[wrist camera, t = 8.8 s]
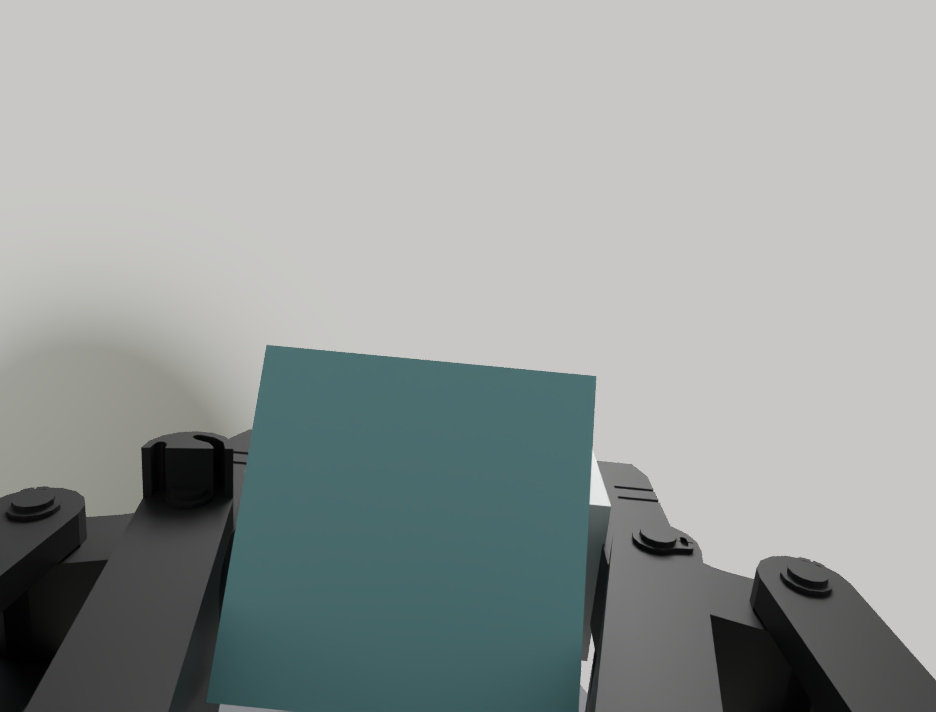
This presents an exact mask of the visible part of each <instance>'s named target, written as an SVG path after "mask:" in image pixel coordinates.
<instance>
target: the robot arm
mask: <svg viewBox="0 0 936 712" xmlns="http://www.w3.org/2000/svg"><path fill="white" fill-rule="evenodd" d="M251 434H252V430H247V431H245V432H243V433H241V434H238V435H236V436H234V437H232V438H230V439H227V438H226V437H224V436H221V435H217V434H214V433H206V432H179V433H173V434H169V435H163V436H161V437H158V438H155V439H153V440H150V441H149V442H148V443H146V444H145V445H144V446H143V447H142V448H141V450H142V477H143V499H142V501H141V503H140V504H139V506H138V508H137V510H136V512H135V513H132V514H124V515H114V516H113V515H112V516H98V517H86V514H85V501H84V497H83V496H81V495H80V494H79V493H77V492H76V491H72V490H68V489H64V488H49V487H37V488H36V489H34V488H28V489H23V490H21V491H20V492H17V493H13V494H9V495H6V496H4V497H2V498H0V712H218V711H219V707H220V704H215V703H206V700H207V694H208V688H209V683H210V677H211V671H212V665H213V659H214V653H215V647H216V641H217V635H218V629H219V623H220V618H221V612H222V606H223V600H224V594H225V588H226V582H227V576H228V570H229V564H230V558H231V553H232V547H233V541H234V535H235V529H236V523H237V517H238V511H239V505H240V499H241V494H242V488H243V482H244V476H245V470H246V464H247V458H248V452H249V446H250V440H251ZM591 633H592V637H593V642H594V647H595V652H594V658H593V664H592V670H591V677H590V683H589V690H588V696H587V702H586V708H585V712H936V680H935V679H934V678H933V677H932V676H931V675H930V674H929V672H928V671H927V670H926V669H925V668H924V666H923V665H922V664H921V663H920V662H919V661H918V660H917V659H916V657H914V655H913V654H912V653H911V652H910V651H909V650H908V648H907V647H906V646H905V645H904V644H903V643H902V642H901V641H900V639H899V638H898V637H897V636H896V635H895V634H894V633H893V632H892V630H891V629H890V628H889V627H888V626H887V625H886V623H885V622H884V621H883V620H882V619H881V618H880V617H879V616H878V614H877V613H876V612H875V611H874V610H873V609H872V608H871V606H870V605H869V604H868V603H867V602H866V601H865V600H864V599H863V597H862V596H861V595H860V594H859V593H858V592H857V591H856V589H855V588H854V587H853V586H852V585H851V584H850V583H849V582H848V581H846V580H845V579H844V578H843V577H841V576H840V575H839V574H837V573H836V572H834V571H832V570H830V569H828V568H826V567H825V566H824V565H822V564H820V563H817V562H815V561H813V562H811V561H810V560H809V559H805V558H801V557H800V558H794V557H788V556H776V557H775V556H773V557H769V558H766V559H764V560H761V561H760V563H759V565H758V567H757V569H756V574H755V579H751V578H747V577H743V576H739V575H736V574H732V573H728V572H725V571H722V570H719V569H716V568H713V567H711V566H709V565H707V564H704V563H703V560H702V552H701V550H700V548H699V546H698V544H697V542H696V541H695V540H693V539H692V538H691V537H690V536H688V535H687V534H686V533H683V532H682V531H679V530H677V529H675V528H673V527H671V526H670V524H669V522H668V520H667V518H666V516H665V514H664V511H663V509H662V507H661V505H660V503H658V499H657V496H656V494H655V492H653V488H652V486H651V484H650V481H649V479H648V477H647V476H646V475H645V474H643V473H642V472H641V471H639V470H638V469H637V468H636V467H634V466H633V465H632V464H623V463H613V462H602V461H596V458H595V455H594V452H593V449H592V466H591V485H590V504H589V523H588V542H587V561H586V581H585V600H584V619H583V638H582V657H581V660H582V661H587V658H588V652H589V645H590V639H591Z"/></svg>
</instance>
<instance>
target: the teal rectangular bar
mask: <svg viewBox="0 0 936 712" xmlns="http://www.w3.org/2000/svg"><path fill="white" fill-rule="evenodd" d="M595 389H596V376H588V375H578V374H567V373H556V372H546V371H534V370H525V369H514V368H504V367H493V366H483V365H472V364H461V363H450V362H440V361H430V360H419V359H409V358H398V357H387V356H377V355H366V354H356V353H345V352H335V351H334V352H333V351H324V350H313V349H303V348H292V347H282V346H271V345H267V346H266V352H265V358H264V364H263V370H262V376H261V381H260V388H259V393H258V399H257V405H256V411H255V417H254V423H253V429H252V434H251V440H250V446H249V452H248V458H247V464H246V470H245V476H244V482H243V488H242V494H241V499H240V505H239V511H238V517H237V523H236V529H235V535H234V541H233V547H232V553H231V558H230V564H229V570H228V576H227V582H226V588H225V594H224V600H223V606H222V612H221V618H220V623H219V629H218V635H217V641H216V647H215V653H214V659H213V665H212V671H211V677H210V683H209V688H208V694H207V700H206V703H215V704H225V705H235V706H244V707H254V708H264V709H274V710H284V711H294V712H579V696H580V676H581V657H582V638H583V619H584V600H585V581H586V561H587V542H588V523H589V504H590V485H591V466H592V446H593V427H594V408H595Z"/></svg>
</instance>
